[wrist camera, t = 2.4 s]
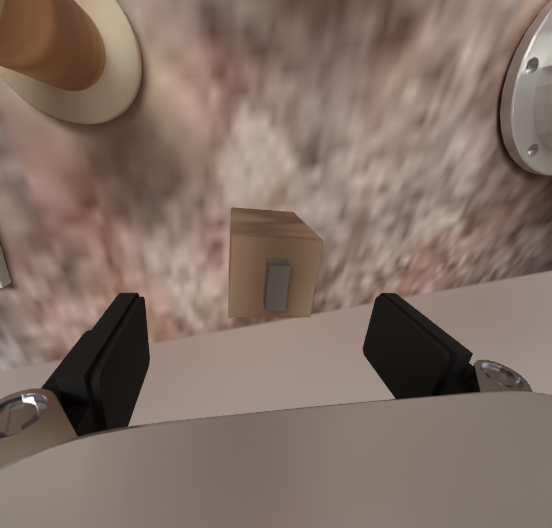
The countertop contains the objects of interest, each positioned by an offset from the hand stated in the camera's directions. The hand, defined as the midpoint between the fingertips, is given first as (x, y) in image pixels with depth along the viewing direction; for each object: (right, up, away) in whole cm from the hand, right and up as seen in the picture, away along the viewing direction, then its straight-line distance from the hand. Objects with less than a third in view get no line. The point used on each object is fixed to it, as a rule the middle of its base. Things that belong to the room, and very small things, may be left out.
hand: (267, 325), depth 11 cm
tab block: (-1, +4, +9) cm, 10 cm away
